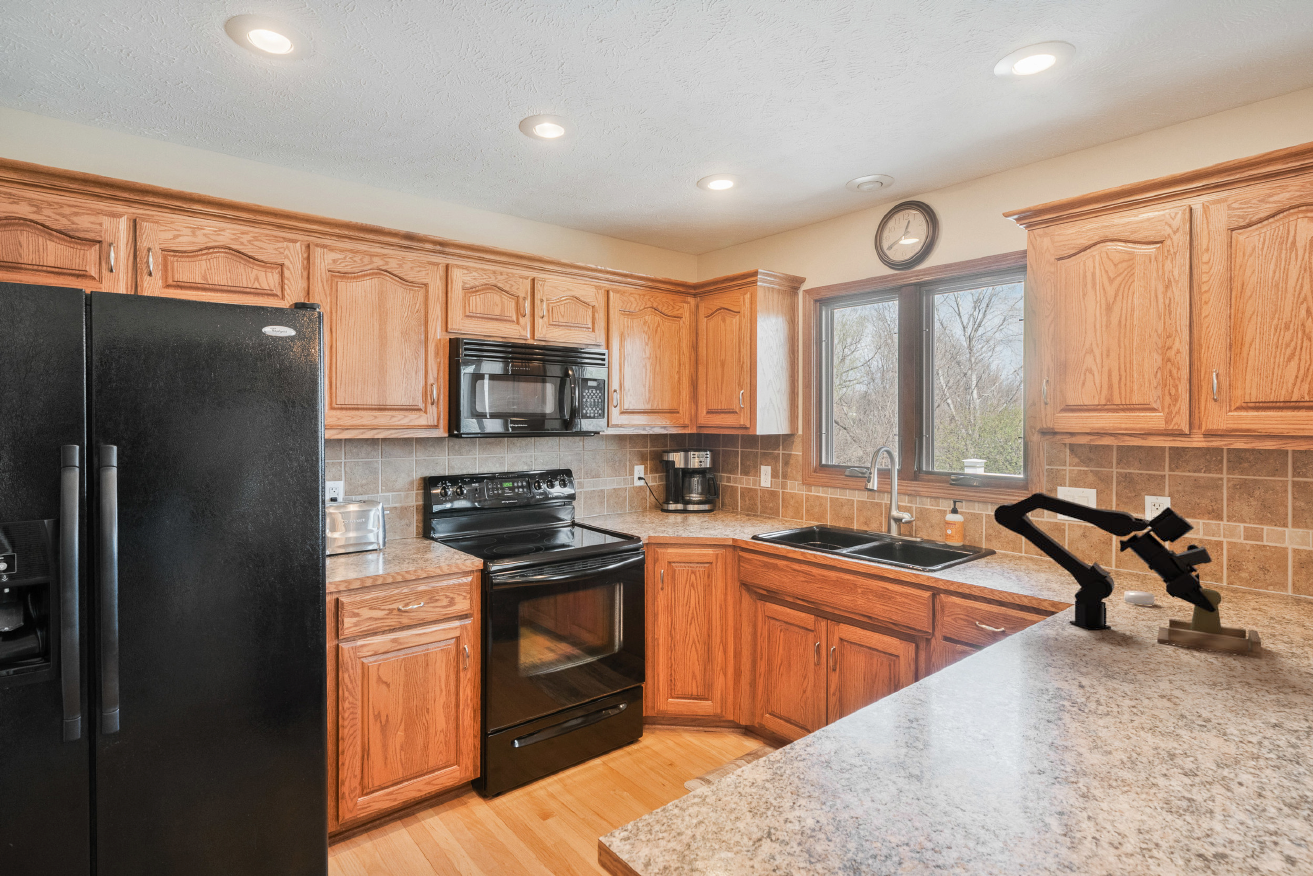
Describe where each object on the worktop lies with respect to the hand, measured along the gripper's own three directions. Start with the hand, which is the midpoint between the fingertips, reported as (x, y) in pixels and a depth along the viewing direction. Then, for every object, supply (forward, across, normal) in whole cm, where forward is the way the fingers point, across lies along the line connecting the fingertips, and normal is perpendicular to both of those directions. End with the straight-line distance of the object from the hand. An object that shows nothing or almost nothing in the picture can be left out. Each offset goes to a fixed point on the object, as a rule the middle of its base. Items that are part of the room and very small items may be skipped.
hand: (1213, 609), depth 155 cm
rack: (+5, 0, +7) cm, 8 cm away
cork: (+4, 0, +6) cm, 7 cm away
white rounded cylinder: (-5, +37, +17) cm, 41 cm away
